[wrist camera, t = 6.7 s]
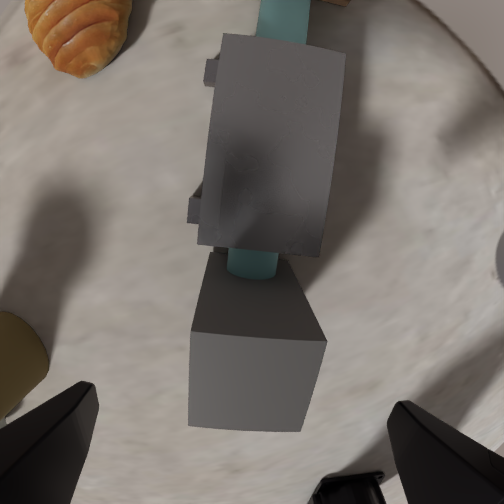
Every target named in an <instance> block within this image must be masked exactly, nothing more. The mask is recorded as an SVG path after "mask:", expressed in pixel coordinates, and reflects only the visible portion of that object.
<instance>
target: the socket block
mask: <svg viewBox="0 0 504 504" xmlns="http://www.w3.org/2000/svg"><path fill="white" fill-rule="evenodd" d="M321 1H325V2H329V3H333V4H337V5H341V6H345V7H346V6H347V4H348V3H349V2H350V1H351V0H321Z"/></svg>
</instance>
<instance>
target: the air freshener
mask: <svg viewBox="0 0 504 504" xmlns="http://www.w3.org/2000/svg"><path fill="white" fill-rule="evenodd" d="M6 425H7V424H6V420H5V417H4V418H3V419H2V420H1V421H0V429H1V428H2V427H4V426H6Z"/></svg>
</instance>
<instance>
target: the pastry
mask: <svg viewBox="0 0 504 504" xmlns="http://www.w3.org/2000/svg"><path fill="white" fill-rule="evenodd" d="M132 1H133V0H25V13H26V16H27V19H28V27H29V31H30V33H31V34H32V38H33V40H34V41H35V42H36V44H37V45H38V47H39V49H40V50H41V51H42V52H43V53H45V55H46V56H47V57H49V59H50V60H51V62H52V64H53V66H54V68H55V69H56V70H58V71H61V72H65V73H69V74H71V75H73V76H75V77H78V78H87V77H89V76H91V75H94V74H96V73H98V72H99V71H101V70H102V69H104V68H105V67H106V66H107V65H108V64H109V63H110V62H111V61H112V60H113V58H114V57H115V56H116V55H117V54H118V52H119V51H120V49H121V47H122V45H123V43H124V42H125V40H126V38H127V27H128V18H129V16H130V13H131V10H132Z"/></svg>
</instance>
